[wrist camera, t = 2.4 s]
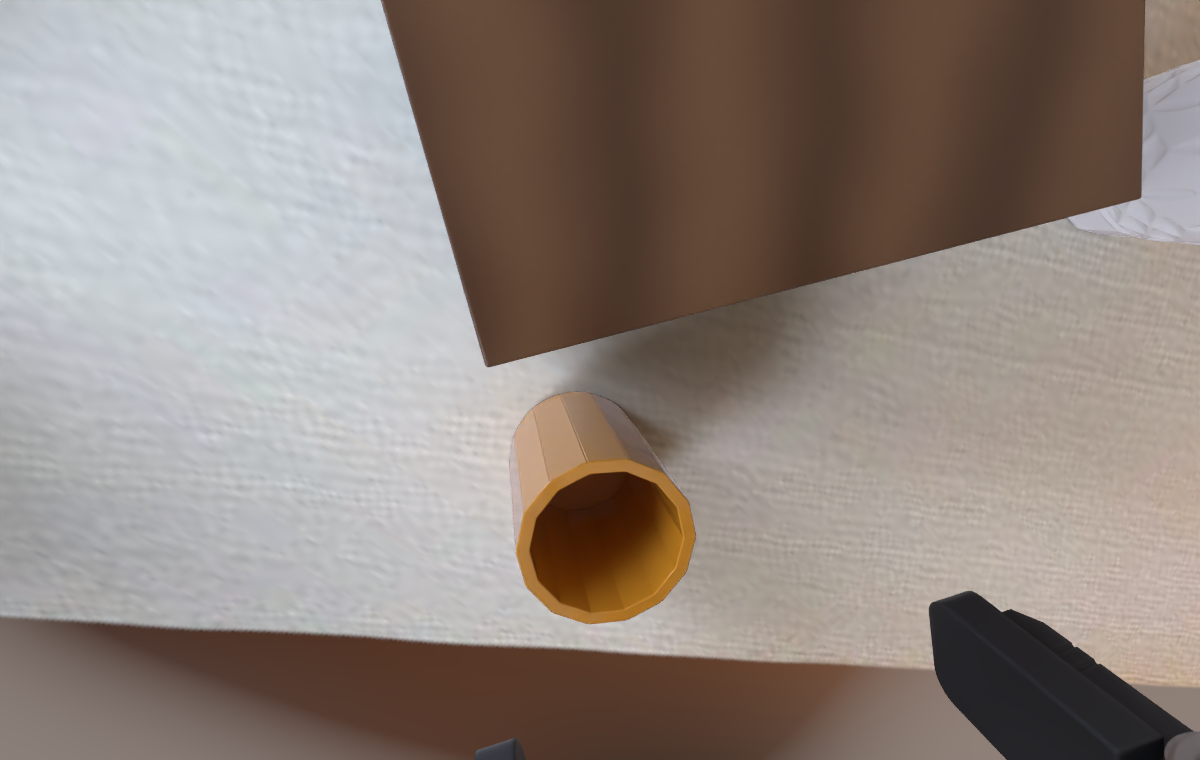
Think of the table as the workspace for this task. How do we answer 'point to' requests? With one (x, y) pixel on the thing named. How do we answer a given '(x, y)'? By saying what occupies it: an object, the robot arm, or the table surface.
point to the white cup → (1162, 166)
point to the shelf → (750, 143)
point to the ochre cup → (595, 511)
